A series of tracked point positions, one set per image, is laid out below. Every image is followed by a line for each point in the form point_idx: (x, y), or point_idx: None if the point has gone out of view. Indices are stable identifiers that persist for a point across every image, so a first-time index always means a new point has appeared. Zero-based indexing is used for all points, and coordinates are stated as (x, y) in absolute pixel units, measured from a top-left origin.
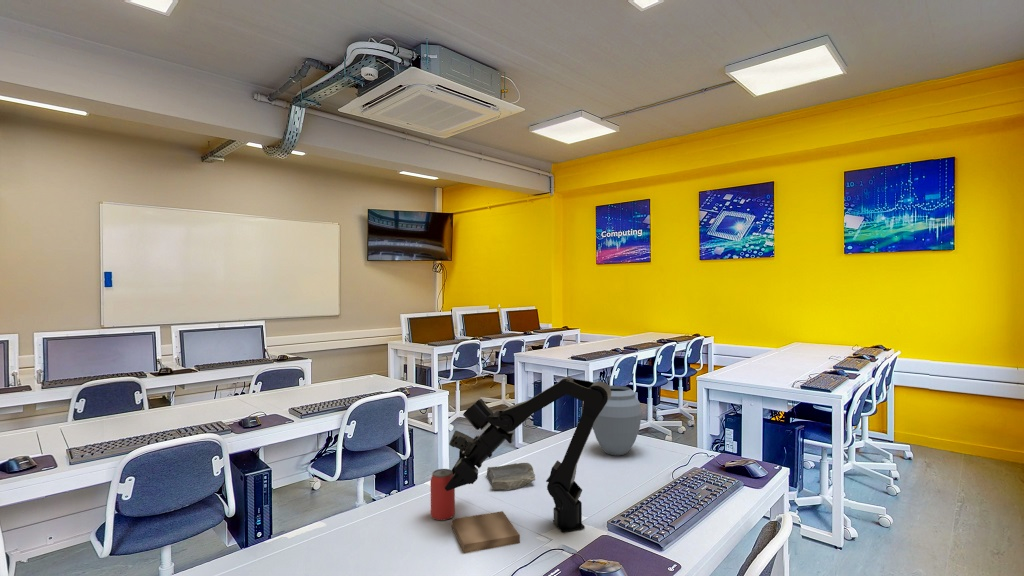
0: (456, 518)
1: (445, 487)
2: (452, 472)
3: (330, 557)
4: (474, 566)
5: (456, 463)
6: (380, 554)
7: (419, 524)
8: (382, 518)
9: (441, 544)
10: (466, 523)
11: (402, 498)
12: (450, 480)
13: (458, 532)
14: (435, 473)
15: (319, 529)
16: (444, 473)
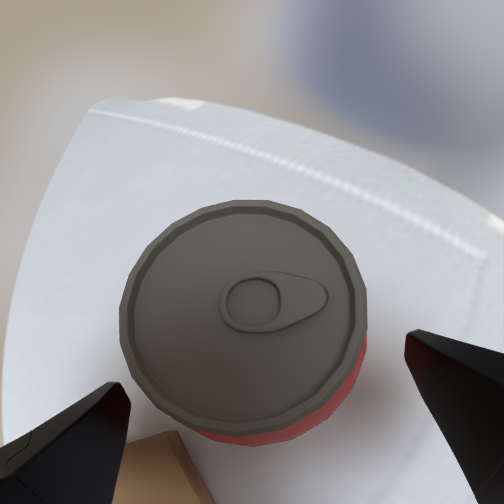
0: (172, 451)
1: (101, 388)
2: (254, 433)
3: (69, 179)
4: None
5: (500, 386)
6: (50, 257)
7: None
8: (227, 178)
9: (68, 403)
10: (134, 490)
11: (377, 176)
12: (41, 426)
13: None
14: (230, 231)
15: (174, 111)
16: (237, 330)
